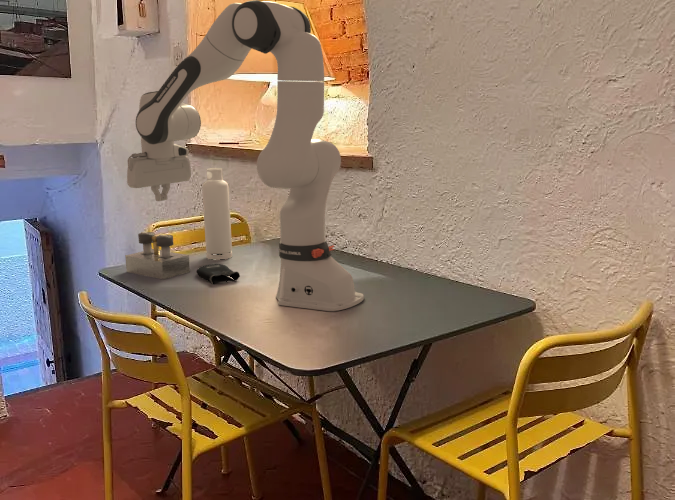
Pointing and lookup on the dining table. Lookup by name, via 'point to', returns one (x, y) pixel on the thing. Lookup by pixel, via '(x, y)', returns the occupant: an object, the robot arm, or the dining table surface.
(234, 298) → the dining table surface
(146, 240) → the knob far
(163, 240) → the knob near
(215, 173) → the bottle
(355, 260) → the dining table surface
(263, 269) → the dining table surface
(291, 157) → the robot arm
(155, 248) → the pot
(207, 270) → the black pouch
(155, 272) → the mount
